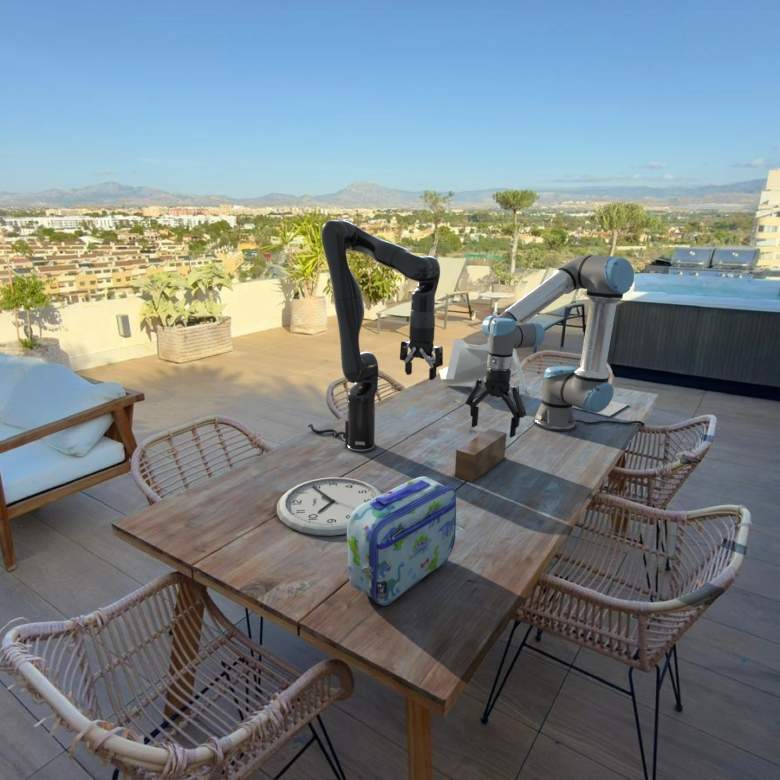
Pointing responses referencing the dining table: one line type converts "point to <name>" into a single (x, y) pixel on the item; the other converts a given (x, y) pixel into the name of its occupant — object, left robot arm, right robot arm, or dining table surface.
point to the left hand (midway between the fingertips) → (420, 376)
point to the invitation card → (610, 408)
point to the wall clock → (324, 504)
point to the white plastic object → (473, 364)
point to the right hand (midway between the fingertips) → (492, 431)
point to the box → (480, 455)
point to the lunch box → (400, 538)
